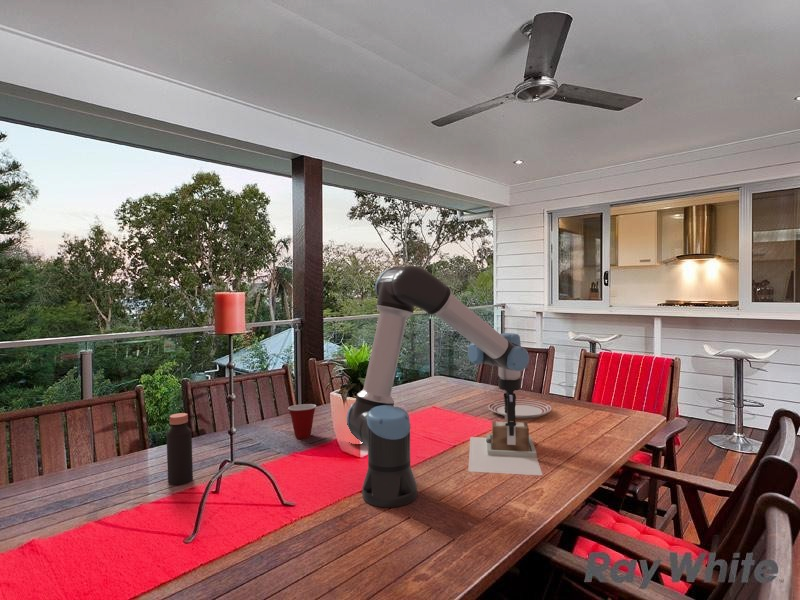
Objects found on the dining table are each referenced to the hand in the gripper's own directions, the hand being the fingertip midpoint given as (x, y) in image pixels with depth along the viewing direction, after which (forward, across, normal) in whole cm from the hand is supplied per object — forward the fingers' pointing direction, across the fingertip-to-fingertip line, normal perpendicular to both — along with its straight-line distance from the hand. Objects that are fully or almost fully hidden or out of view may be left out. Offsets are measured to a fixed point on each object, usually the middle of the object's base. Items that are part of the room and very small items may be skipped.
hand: (510, 437), depth 160 cm
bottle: (+4, -41, +99) cm, 107 cm away
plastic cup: (+4, +3, +78) cm, 78 cm away
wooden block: (+3, 0, 0) cm, 3 cm away
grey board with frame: (+4, -7, +3) cm, 8 cm away
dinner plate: (+4, +46, -7) cm, 47 cm away
